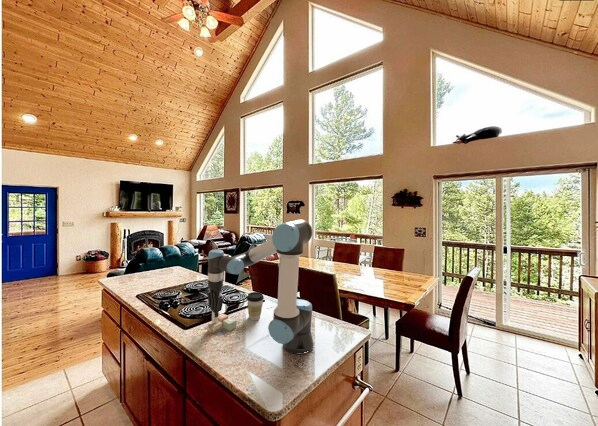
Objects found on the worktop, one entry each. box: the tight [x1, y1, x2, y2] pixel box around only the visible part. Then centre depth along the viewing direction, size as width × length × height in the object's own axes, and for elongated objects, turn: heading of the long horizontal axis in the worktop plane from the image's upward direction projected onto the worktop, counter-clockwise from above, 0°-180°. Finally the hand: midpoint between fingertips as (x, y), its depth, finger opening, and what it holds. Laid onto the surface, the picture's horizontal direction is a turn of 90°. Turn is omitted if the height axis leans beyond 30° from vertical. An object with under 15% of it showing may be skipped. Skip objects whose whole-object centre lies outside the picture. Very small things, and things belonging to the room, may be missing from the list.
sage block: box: [223, 316, 238, 332], centre depth 156 cm, size 5×5×4 cm
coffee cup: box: [246, 291, 265, 321], centre depth 167 cm, size 10×10×15 cm
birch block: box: [207, 321, 222, 335], centre depth 152 cm, size 5×5×4 cm
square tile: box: [204, 325, 229, 337], centre depth 155 cm, size 12×12×1 cm
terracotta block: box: [218, 312, 229, 325], centre depth 160 cm, size 5×5×4 cm
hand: (214, 322), depth 152 cm, fingers closed
